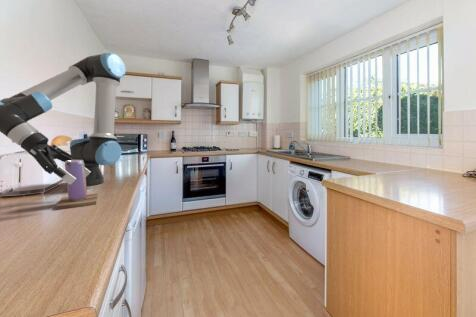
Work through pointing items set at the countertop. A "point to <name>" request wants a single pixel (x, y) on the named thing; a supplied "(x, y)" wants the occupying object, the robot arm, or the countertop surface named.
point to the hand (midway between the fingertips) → (81, 177)
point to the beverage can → (78, 187)
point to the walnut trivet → (77, 202)
